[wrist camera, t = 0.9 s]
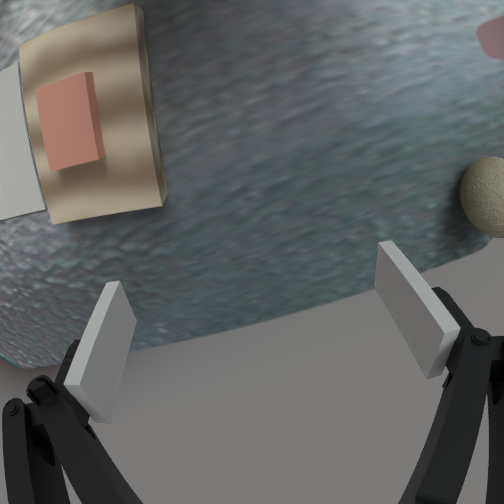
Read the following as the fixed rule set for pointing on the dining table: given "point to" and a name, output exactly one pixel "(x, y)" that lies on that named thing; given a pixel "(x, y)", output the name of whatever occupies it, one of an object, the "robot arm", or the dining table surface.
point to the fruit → (484, 195)
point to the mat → (16, 152)
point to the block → (70, 121)
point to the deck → (110, 115)
